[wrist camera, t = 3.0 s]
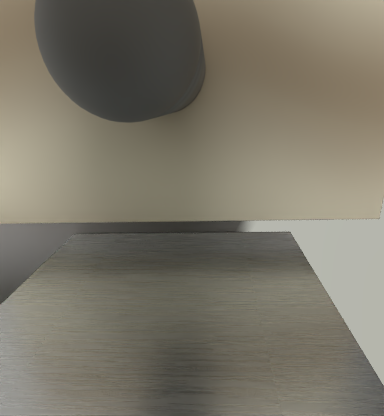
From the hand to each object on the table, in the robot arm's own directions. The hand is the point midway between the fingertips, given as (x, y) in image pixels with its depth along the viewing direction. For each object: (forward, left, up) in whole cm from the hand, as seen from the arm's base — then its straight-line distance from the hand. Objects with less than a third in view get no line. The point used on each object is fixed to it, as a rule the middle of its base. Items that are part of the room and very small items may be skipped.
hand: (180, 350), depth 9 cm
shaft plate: (+7, 0, -1) cm, 8 cm away
